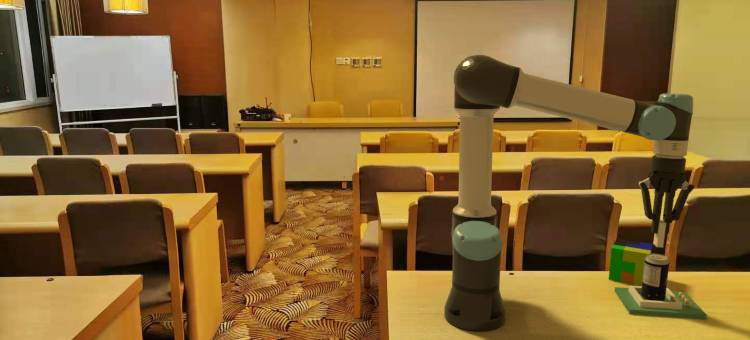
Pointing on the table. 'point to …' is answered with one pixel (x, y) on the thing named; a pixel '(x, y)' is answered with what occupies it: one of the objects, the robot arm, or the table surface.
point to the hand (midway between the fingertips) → (658, 245)
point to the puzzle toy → (628, 261)
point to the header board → (659, 304)
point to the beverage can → (655, 277)
